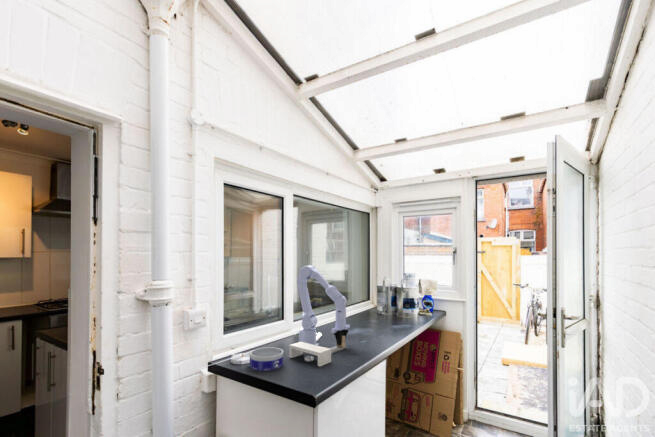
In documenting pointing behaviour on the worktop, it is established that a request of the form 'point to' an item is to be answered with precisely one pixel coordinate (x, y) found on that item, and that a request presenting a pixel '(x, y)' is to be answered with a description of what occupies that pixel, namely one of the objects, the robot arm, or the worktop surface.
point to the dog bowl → (266, 359)
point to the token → (309, 358)
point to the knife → (318, 336)
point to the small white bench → (311, 352)
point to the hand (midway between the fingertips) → (340, 344)
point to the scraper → (338, 347)
